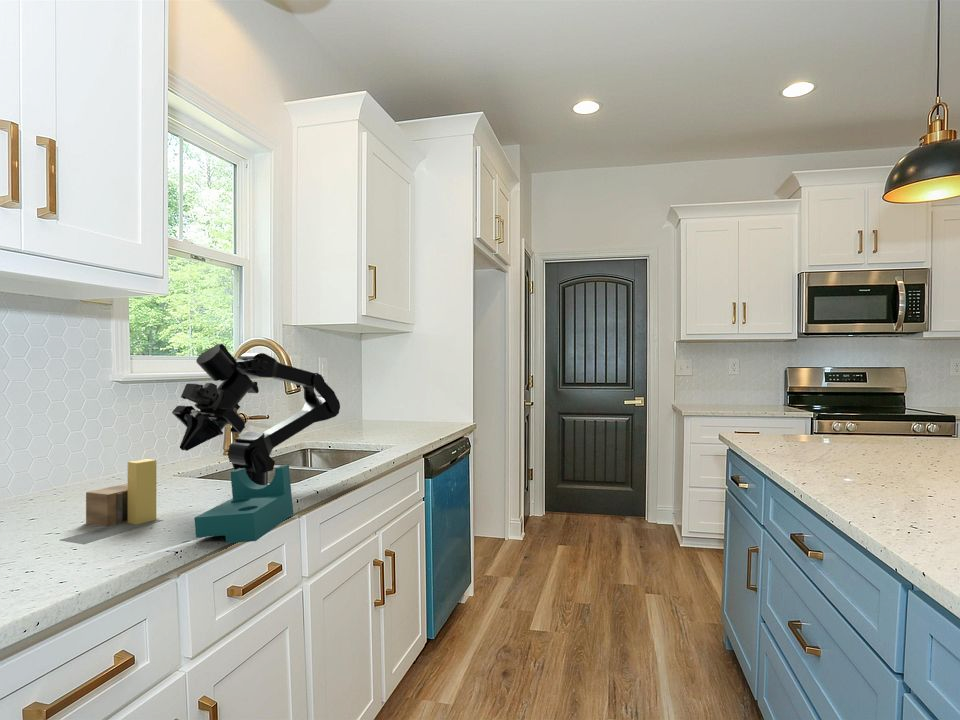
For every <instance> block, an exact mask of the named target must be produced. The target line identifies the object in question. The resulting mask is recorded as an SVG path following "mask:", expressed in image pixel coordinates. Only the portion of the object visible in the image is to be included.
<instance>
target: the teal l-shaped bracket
mask: <svg viewBox="0 0 960 720" xmlns="http://www.w3.org/2000/svg"><path fill="white" fill-rule="evenodd" d="M274 470H275V471H274V475H273V476H274V477H273V479H272V481H270V483H268V485H258V484H256V483H254V482H253V481H251V480H250V478H249V477H248V475H247V473H246V469H245V468H240V469H237V470H234V469H233V470H232V471H230V483H231V495H232V498H230V499H228V500H226V501H225V502H223V503H221V504H218V505H217V506H214V507H213V508H210V509H208V510H207V511H204V512H202V513H201V514H199V515H196V516H195V517H193V518H194V528H195V529H194V530H195V538H196V539H197V538H198V539H199V538H209V537H219V536H225V544H226V543H231V544H235V543H237V544H238V543H249V542H250V543H251V542H257V541H258V540H260V539H261V538H262V537H264V536H265V535H266V534H268V533H269V532H270V531H272V530H273V529H275V528H276V527H278V526H279V525H280V524H282V523H283V522H284V521H286V520H287V519H288V518H290V517H292V516H293V515H294V509H293V497H292V486H291V485H292V484H291V473H290V472H291V471H290V464H282V465H279V466H277V467H275V468H274Z"/></svg>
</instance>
